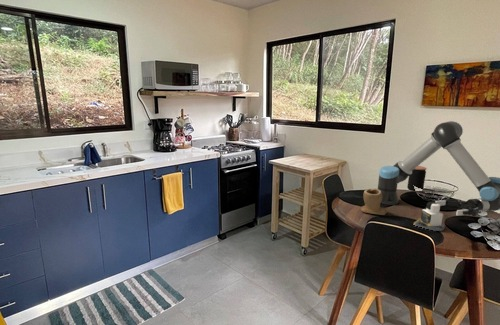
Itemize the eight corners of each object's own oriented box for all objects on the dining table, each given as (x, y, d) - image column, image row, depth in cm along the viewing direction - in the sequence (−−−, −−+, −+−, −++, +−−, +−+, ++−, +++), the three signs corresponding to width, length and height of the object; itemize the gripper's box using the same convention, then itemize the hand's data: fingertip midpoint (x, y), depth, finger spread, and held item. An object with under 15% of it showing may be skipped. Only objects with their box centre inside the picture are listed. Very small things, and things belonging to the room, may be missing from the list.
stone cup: (359, 214, 174) (361, 190, 170) (361, 207, 184) (364, 185, 180) (386, 219, 167) (390, 194, 163) (387, 212, 177) (390, 189, 174)
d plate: (447, 226, 158) (447, 223, 158) (440, 233, 150) (440, 231, 149) (421, 219, 168) (421, 216, 167) (413, 225, 159) (413, 222, 159)
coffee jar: (425, 192, 214) (428, 169, 210) (409, 191, 216) (413, 168, 212) (419, 188, 224) (423, 165, 220) (405, 187, 227) (408, 165, 222)
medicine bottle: (419, 221, 161) (423, 200, 159) (431, 220, 162) (434, 200, 160) (429, 226, 155) (432, 205, 152) (441, 226, 155) (445, 205, 153)
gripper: (498, 220, 152) (465, 224, 147) (456, 203, 175) (426, 206, 171) (501, 207, 150) (468, 210, 145) (458, 191, 174) (428, 194, 169)
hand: (445, 208), depth 158 cm, fingers open, 13 cm apart
